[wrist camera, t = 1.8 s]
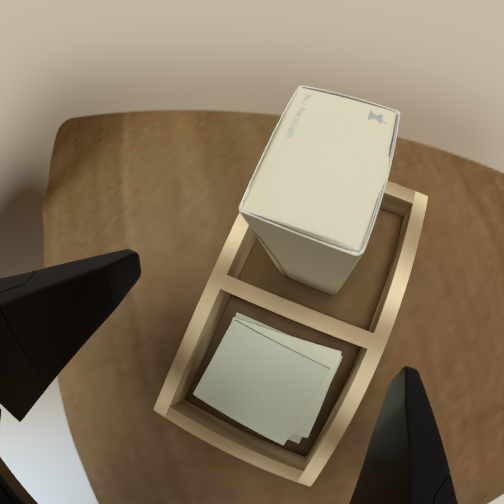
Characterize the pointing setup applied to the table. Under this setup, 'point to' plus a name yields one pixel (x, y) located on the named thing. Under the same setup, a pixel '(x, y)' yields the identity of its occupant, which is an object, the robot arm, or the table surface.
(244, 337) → the offcut stack
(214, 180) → the table surface
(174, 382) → the tray
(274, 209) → the skincare box
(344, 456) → the table surface
